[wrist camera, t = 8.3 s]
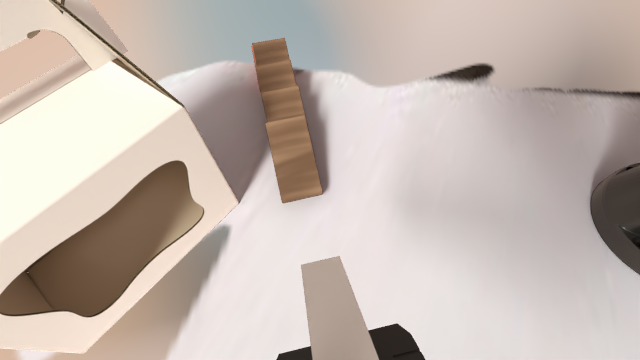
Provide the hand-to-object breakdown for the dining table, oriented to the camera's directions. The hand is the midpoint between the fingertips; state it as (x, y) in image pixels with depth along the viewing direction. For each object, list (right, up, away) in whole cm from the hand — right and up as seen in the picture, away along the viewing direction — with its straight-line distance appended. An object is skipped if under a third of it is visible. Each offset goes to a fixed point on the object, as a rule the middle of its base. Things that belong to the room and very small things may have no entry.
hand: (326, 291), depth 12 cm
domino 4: (-2, +2, +27) cm, 27 cm away
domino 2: (-5, +11, +32) cm, 34 cm away
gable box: (-22, -3, +26) cm, 35 cm away
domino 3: (-3, +7, +30) cm, 31 cm away
